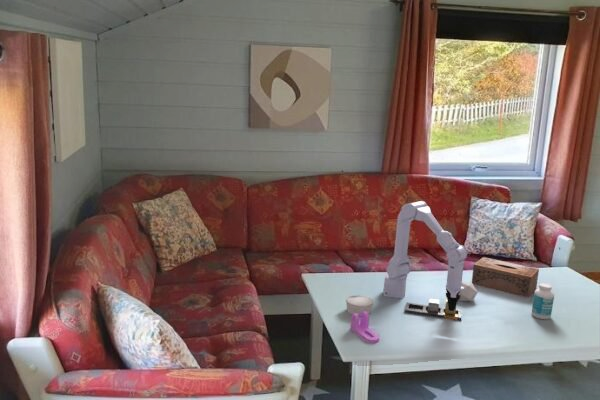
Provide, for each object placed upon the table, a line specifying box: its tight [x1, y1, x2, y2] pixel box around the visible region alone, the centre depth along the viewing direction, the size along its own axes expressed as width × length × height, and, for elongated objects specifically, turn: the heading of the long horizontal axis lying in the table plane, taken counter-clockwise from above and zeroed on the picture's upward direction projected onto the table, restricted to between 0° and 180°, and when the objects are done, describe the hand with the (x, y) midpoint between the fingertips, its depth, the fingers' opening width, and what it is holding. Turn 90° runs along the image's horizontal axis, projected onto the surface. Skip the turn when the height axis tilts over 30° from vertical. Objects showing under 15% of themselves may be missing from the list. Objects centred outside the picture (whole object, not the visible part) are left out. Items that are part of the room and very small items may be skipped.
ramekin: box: [345, 294, 374, 317], centre depth 222 cm, size 11×11×5 cm
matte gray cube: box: [428, 298, 440, 313], centre depth 223 cm, size 4×4×5 cm
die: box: [458, 281, 478, 302], centre depth 238 cm, size 8×9×10 cm
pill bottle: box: [531, 282, 555, 320], centre depth 224 cm, size 8×7×14 cm
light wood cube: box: [444, 299, 457, 316], centre depth 221 cm, size 4×4×5 cm
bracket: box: [349, 311, 380, 344], centre depth 202 cm, size 13×6×7 cm, turn 26°
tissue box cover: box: [471, 256, 540, 299], centre depth 257 cm, size 26×14×10 cm, turn 54°
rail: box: [404, 302, 462, 322], centre depth 223 cm, size 22×8×2 cm, turn 75°
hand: (451, 308), depth 221 cm, fingers closed on light wood cube, 4 cm apart
